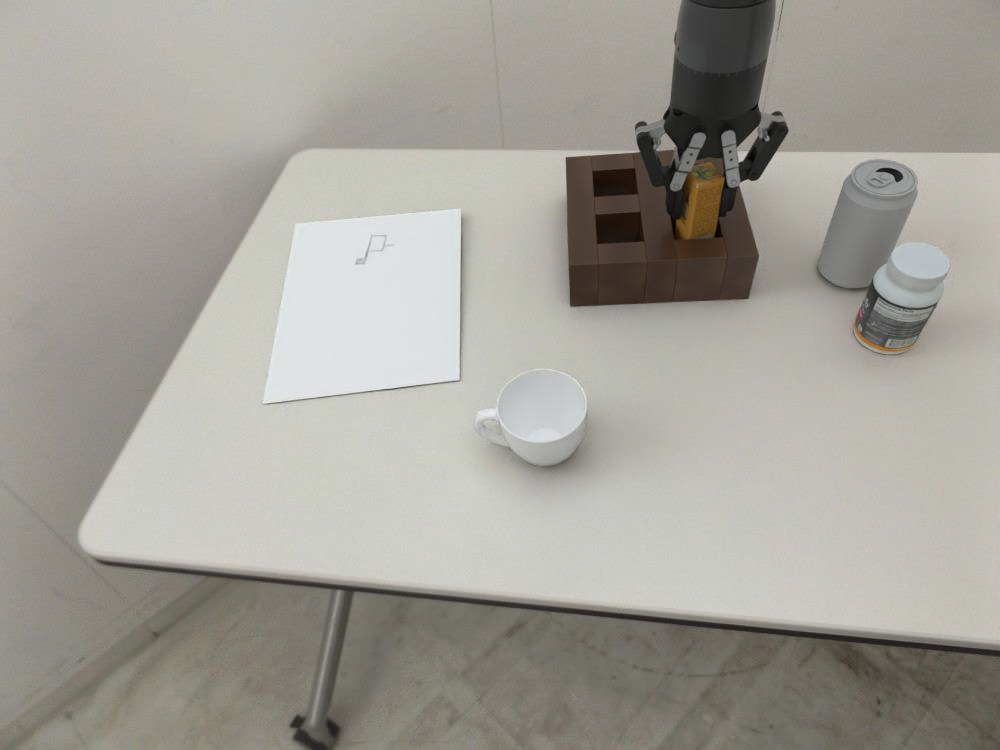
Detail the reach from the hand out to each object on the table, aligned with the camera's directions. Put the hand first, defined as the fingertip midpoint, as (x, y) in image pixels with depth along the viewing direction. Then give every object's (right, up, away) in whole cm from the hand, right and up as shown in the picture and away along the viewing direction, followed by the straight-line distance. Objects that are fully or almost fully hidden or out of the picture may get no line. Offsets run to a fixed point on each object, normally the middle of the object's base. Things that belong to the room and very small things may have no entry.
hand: (698, 212), depth 70 cm
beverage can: (+17, -6, +3) cm, 18 cm away
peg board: (-3, -2, +9) cm, 9 cm away
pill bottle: (+17, -13, -3) cm, 22 cm away
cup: (-17, -23, -6) cm, 30 cm away
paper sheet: (-35, -8, +8) cm, 37 cm away
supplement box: (+1, -3, +4) cm, 5 cm away
